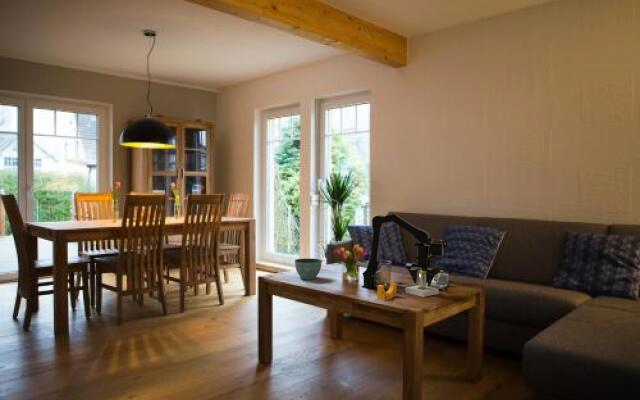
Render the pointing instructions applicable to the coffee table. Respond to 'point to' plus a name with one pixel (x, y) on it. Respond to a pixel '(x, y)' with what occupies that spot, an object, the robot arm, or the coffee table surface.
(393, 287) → the pipe clamp
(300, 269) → the flower pot
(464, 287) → the coffee table surface
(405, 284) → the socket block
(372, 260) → the robot arm
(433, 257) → the power drill
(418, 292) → the rack block
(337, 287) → the coffee table surface
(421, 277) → the steel peg
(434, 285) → the phone holder
